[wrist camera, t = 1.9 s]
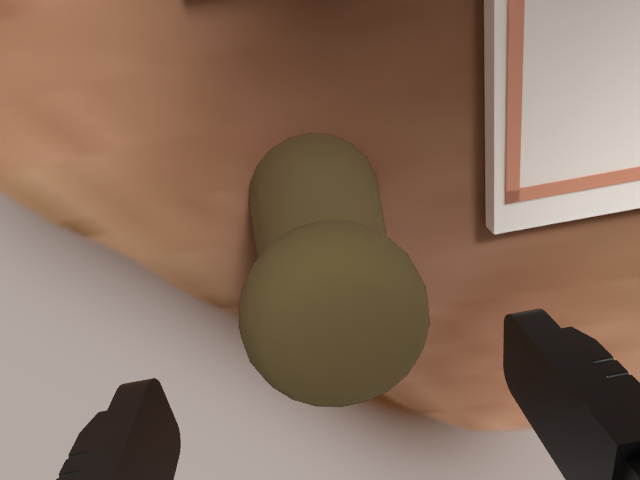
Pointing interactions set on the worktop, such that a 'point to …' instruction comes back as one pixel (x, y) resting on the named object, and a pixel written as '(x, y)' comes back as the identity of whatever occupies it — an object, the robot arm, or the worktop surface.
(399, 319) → the olive rounded piece
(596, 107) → the marked board
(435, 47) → the worktop surface
